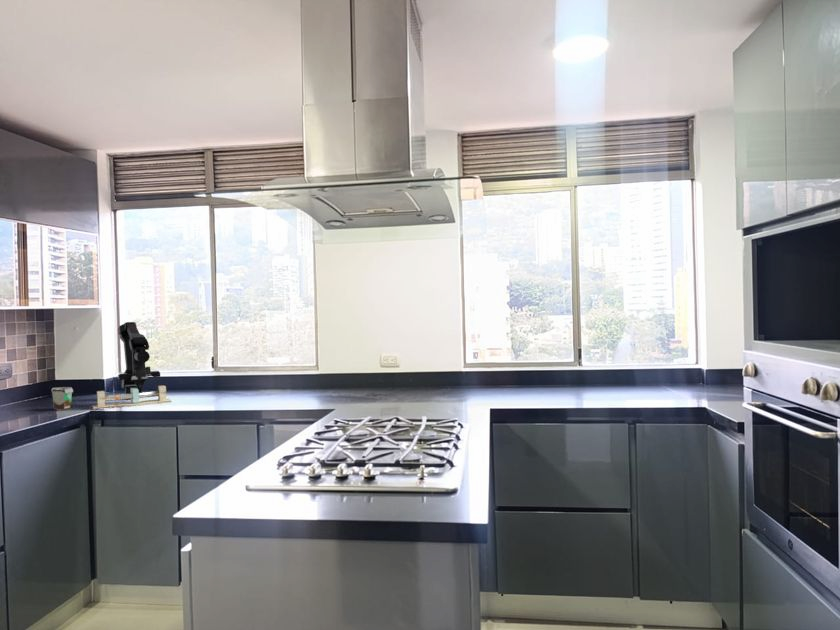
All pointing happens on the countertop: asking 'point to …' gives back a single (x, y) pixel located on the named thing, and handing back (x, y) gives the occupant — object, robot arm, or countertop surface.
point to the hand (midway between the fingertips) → (140, 392)
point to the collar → (135, 395)
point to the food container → (62, 398)
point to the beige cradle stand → (102, 404)
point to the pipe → (130, 396)
